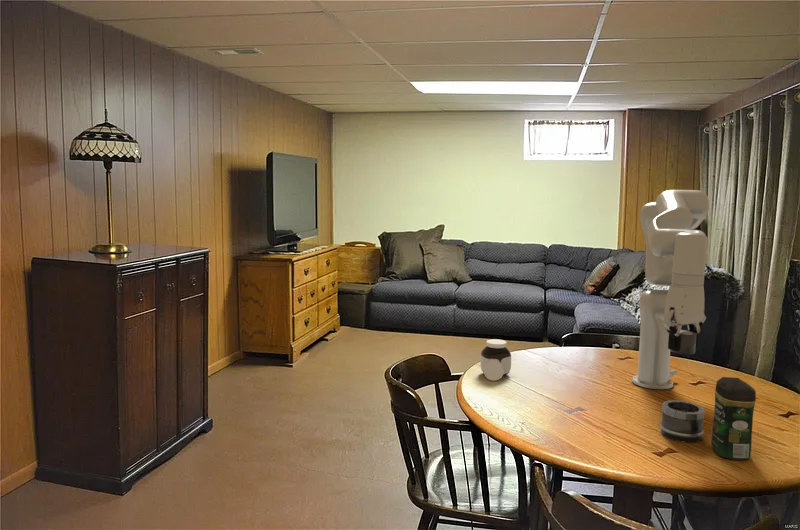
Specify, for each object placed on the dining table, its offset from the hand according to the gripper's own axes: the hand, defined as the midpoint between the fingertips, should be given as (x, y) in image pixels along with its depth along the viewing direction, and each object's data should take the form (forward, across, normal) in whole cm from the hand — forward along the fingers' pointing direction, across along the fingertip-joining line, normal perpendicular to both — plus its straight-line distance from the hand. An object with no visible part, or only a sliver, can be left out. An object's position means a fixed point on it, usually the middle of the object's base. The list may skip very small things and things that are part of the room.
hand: (682, 347), depth 160 cm
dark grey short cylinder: (+1, 0, 0) cm, 1 cm away
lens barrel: (+24, -1, +1) cm, 24 cm away
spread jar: (+24, +14, -61) cm, 67 cm away
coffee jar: (+24, -2, +14) cm, 28 cm away
